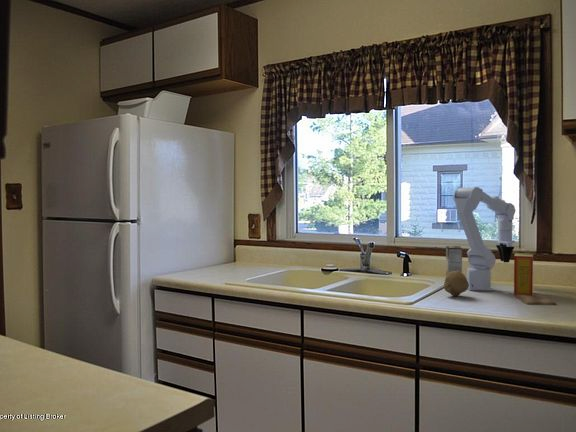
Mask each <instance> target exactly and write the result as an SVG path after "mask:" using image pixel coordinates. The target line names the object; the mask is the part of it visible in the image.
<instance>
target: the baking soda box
mask: <svg viewBox="0 0 576 432" xmlns="http://www.w3.org/2000/svg"><path fill="white" fill-rule="evenodd" d="M513 258H514V259H513V268H514V269H513V296H514V297H515V295H534V294H533V293H534V253H521V252H519V253H514V255H513Z"/></svg>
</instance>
